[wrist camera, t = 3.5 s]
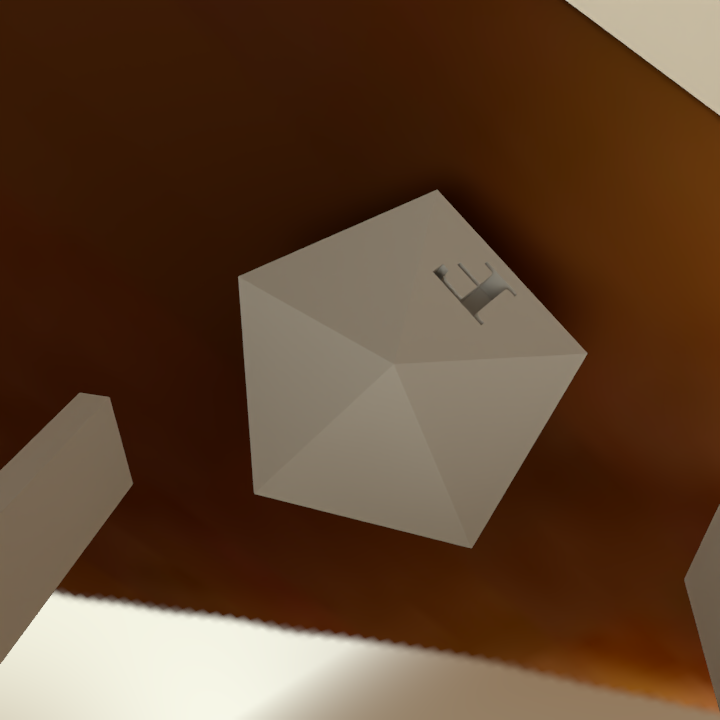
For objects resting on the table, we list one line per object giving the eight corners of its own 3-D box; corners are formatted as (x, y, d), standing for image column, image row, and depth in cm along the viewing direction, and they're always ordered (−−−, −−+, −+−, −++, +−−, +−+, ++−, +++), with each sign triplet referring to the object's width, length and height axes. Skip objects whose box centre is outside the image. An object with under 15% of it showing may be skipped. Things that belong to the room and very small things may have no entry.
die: (576, 387, 21) (728, 377, 11) (381, 555, 21) (362, 692, 11) (414, 209, 22) (422, 53, 12) (228, 372, 22) (84, 351, 12)
